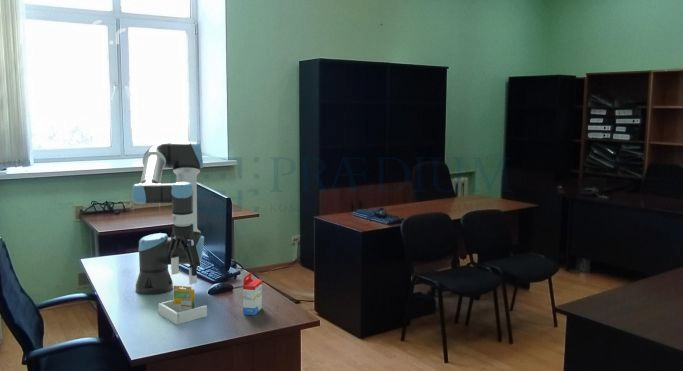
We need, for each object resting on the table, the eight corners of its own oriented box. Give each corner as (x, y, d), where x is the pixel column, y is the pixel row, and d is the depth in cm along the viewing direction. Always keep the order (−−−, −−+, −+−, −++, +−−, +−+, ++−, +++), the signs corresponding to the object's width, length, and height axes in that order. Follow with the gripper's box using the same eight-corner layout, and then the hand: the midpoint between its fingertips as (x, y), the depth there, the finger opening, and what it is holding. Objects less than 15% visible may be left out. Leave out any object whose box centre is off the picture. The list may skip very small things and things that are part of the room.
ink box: (254, 315, 221) (254, 279, 219) (242, 314, 222) (242, 277, 219) (262, 308, 229) (262, 272, 227) (250, 306, 230) (250, 271, 228)
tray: (158, 313, 221) (158, 303, 220) (188, 305, 229) (188, 296, 229) (176, 324, 211) (176, 314, 210) (206, 316, 219) (206, 306, 219)
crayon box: (195, 313, 222) (194, 284, 220) (191, 316, 219) (191, 287, 217) (177, 312, 223) (176, 283, 221) (173, 315, 220) (173, 285, 218)
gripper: (157, 218, 221) (159, 271, 225) (190, 232, 204) (191, 289, 207) (175, 216, 226) (176, 268, 230) (209, 229, 209) (210, 285, 213)
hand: (183, 278), depth 219 cm, fingers open, 13 cm apart
